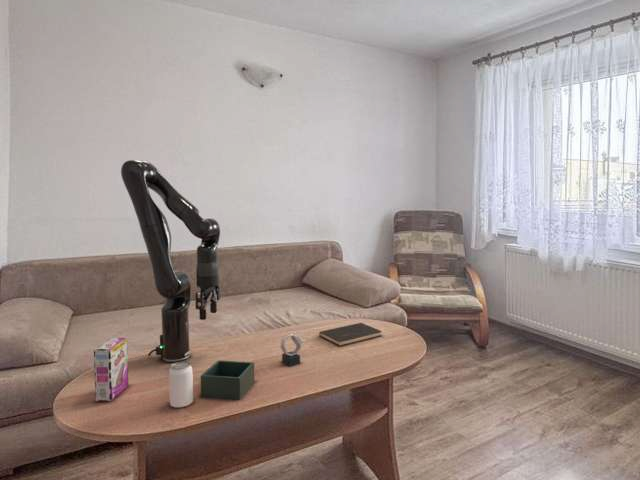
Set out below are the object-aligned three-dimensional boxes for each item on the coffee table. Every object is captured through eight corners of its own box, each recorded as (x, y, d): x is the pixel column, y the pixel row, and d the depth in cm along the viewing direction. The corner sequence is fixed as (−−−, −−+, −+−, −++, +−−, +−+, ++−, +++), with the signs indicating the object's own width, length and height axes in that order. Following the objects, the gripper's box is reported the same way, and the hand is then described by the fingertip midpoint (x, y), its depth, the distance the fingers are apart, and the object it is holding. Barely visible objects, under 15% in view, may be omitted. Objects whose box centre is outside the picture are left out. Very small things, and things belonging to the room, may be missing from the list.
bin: (200, 396, 137) (200, 375, 136) (218, 379, 149) (218, 360, 148) (240, 399, 136) (239, 378, 135) (254, 381, 148) (254, 362, 147)
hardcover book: (381, 336, 197) (381, 331, 197) (339, 346, 183) (339, 341, 183) (360, 326, 210) (360, 322, 209) (319, 336, 195) (319, 331, 195)
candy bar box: (112, 401, 132) (109, 349, 130) (95, 402, 132) (92, 349, 130) (129, 385, 143) (127, 336, 141) (113, 385, 143) (111, 337, 141)
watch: (304, 362, 166) (304, 334, 164) (285, 367, 160) (285, 338, 159) (296, 357, 170) (296, 330, 168) (277, 362, 164) (277, 334, 163)
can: (184, 409, 129) (183, 370, 127) (165, 406, 130) (163, 368, 128) (197, 399, 135) (196, 362, 133) (178, 396, 136) (177, 359, 135)
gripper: (206, 269, 168) (207, 310, 170) (187, 276, 154) (189, 321, 156) (225, 270, 167) (226, 311, 169) (208, 277, 153) (209, 322, 155)
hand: (208, 316), depth 162 cm, fingers open, 8 cm apart
